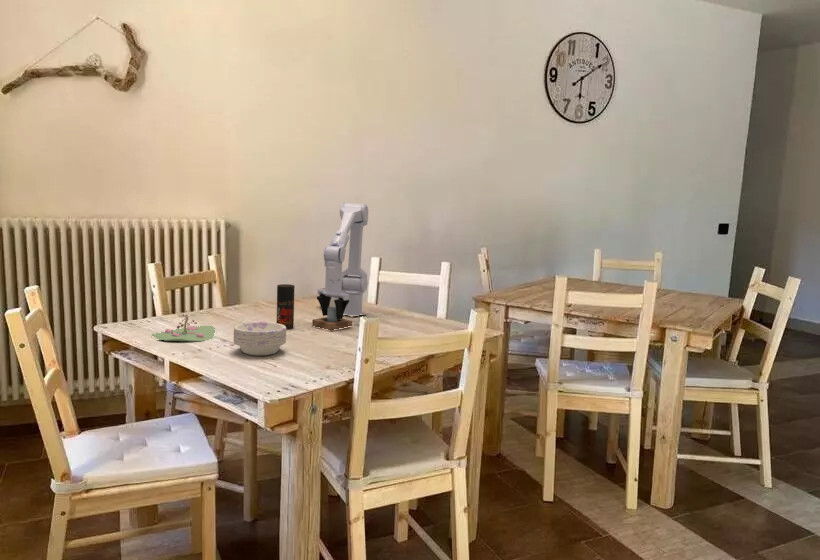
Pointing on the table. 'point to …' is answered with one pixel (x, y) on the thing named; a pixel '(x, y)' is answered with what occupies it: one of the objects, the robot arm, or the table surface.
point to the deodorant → (285, 305)
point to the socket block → (331, 323)
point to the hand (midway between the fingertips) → (332, 317)
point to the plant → (187, 333)
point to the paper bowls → (259, 337)
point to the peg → (331, 314)
